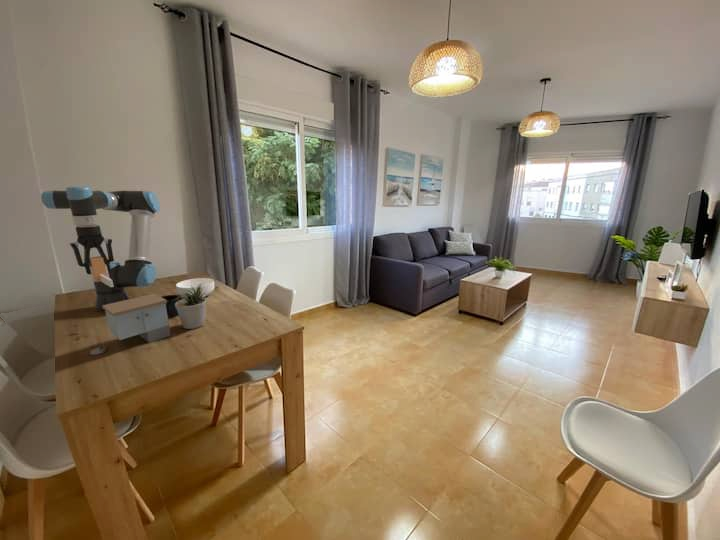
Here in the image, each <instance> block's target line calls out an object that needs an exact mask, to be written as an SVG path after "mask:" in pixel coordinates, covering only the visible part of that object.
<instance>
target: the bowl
mask: <svg viewBox="0 0 720 540" xmlns="http://www.w3.org/2000/svg"><path fill="white" fill-rule="evenodd" d="M199 284H200V285H201V289H202V287H203V289H202V291H201V290H200V291H201V295H202V292H203V293H204V295H203V296H202V297H201V298H204V297H205V296H206V295H207V296H209V295H210V294H211V293H213V290H214V289H215V281H214V279H212V278H208V277H200V278H199V277H197V278H190V279H189V278H188V279H185V280H181V281H179V282H177V283H176V284H175V289H176V292H177V293H176V294H177V295H178V294H184V293H186V292H187V293H189V294H190V295H192V294H191V293H190V292H192V293H193V294H194V290H195V292H196V291H197V286H199ZM190 285H191V286H192V287H193V288H194V290H193V289H192V287H191V286H190ZM182 289H183V290H182ZM184 289H185V291H186V290H188V291H186V292H185V291H184ZM189 291H190V292H189ZM181 292H183V293H181ZM201 295H200V296H201ZM184 296H185V295H183V296H182V295H180V297H183V298H185V297H184ZM207 296H206V297H207ZM186 297H187V296H186ZM206 297H205V298H206ZM185 299H186V298H185Z"/></svg>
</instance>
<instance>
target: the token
mask: <svg viewBox="0 0 720 540" xmlns="http://www.w3.org/2000/svg"><path fill="white" fill-rule="evenodd" d="M106 351H107V348H106V347H104V346H100V347H96V348H93V349H92V350H90V351H89V352H90V355H91V356H99V355H102V354H104V353H106Z"/></svg>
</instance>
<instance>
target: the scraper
mask: <svg viewBox="0 0 720 540" xmlns="http://www.w3.org/2000/svg"><path fill="white" fill-rule="evenodd" d="M90 266H92V268H93V272H94V276H95V280H96V281H95V282H103V283H104V284H106V285H108V286H109V287H114V285H113V281H112V279H110V278H108V277H107V272H106V268H105V264H104V260H103V257H101V256H100V255H98V256H92V257H90Z"/></svg>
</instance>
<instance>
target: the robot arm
mask: <svg viewBox="0 0 720 540" xmlns="http://www.w3.org/2000/svg"><path fill="white" fill-rule="evenodd" d="M40 199H41V202H42V204H43V206H45V207H46V208H48V209H52V210H53V209H54V210H64V209H65V210H68V209H69V210H70V211H71V215H72V221H73V223H74V224H73V225H74V226H76V227H75V231H76V236H77V239H76V241H73V242H70V243H69V246H70V247H71V248H72V250H73V253H74V256H75V260H76V262H77V265H78V266H79V267H82V268H83V267H84V269H85V273H86V275H90V280H91V282H93V285H94V289H95V290H94V291H95V294H96V296H95V300H94V310H95V311H96V312H103V313H104V312H106V311H105V310H104V309H103V307H102V305H106V304H111V303H115V302H120V301H124V300H129V299H131V298H130V296H129V295H128V293H127V292H126V290H125V288H137V287H140V288H142V287H148V286H151V285H152V284H153V283H154V281H155V280H156V277H157V270H156V269H157V268H156V266H155V265H154V264H153V263H152V261H151V260H150V259H149V257H150V240H151V239H150V238H151V224H152V219H153V218H154V217H155V214H156V213H158V212H159V211H160V206H161V205H160V202H159V199H158V197H157V195H156V194H155V193H154V192H153V191H151V190H150V191H149V190H114V191H104V190H92V188H91V187H89V186H68V187H66V189H65V190H54V189H53V190H45V191H43V192H42V193H41V196H40ZM101 209H102V210H104V211H113V212H122V213H128V214H129V215H130V216H131V223H130V235H129V249H128V257H127V258H126V259H125V260H124V264H123V265H121V263H120V262H119V261H117V262H116V261H115V258H114V253H113V246H112V242H113V239H111V238H106V237H104V236H103V235H102V234H103V233H102V230H101V227H100V225H99V224H100V222H99V221H100V220H99V217H98V213H97V210H101ZM103 242H104V244H105V248H106V252H107V256H106V254H105V252H104V249H103V247H102V244H103ZM79 244H80V245H81V246H82V247H83V250H84V251H83V252H84V253H83V257H84V258H83V259H82V256H81V253H80V250H79V247H80V245H79ZM93 248H94V249H96V250H97V252H98V254H99V256H100V257H103V260H104V264H105V268H106V272H107V277H108V278H110V279H112V281H113V285H114V287H109V286H108V285H106V284H104V283H103V282H95V281H96V280H95V276H94V272H93V268H92V266H90V258H91V257H90V256H91V249H93ZM114 261H115V262H114Z"/></svg>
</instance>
